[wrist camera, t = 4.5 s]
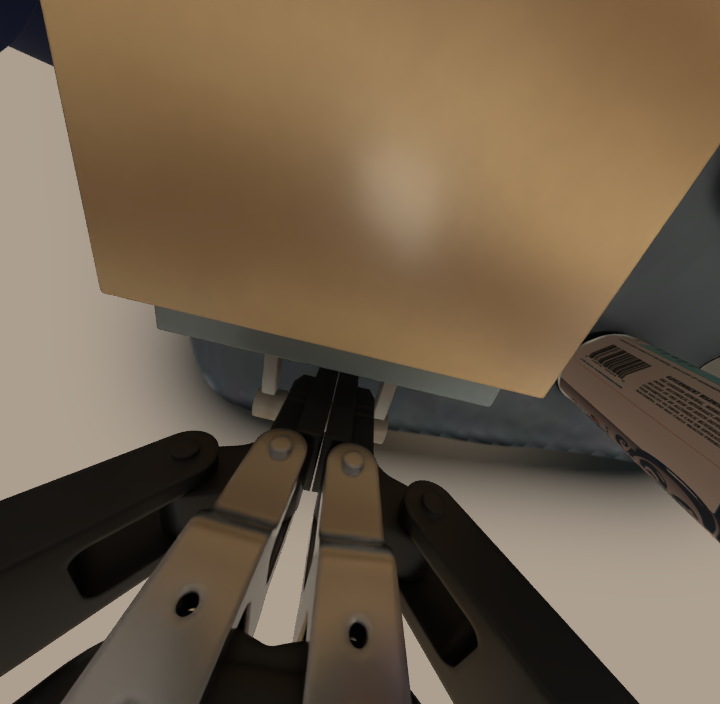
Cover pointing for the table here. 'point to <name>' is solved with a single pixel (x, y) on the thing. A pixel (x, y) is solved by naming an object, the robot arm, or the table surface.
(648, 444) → the beer can
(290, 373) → the table surface
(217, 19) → the cabinet
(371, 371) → the drawer
